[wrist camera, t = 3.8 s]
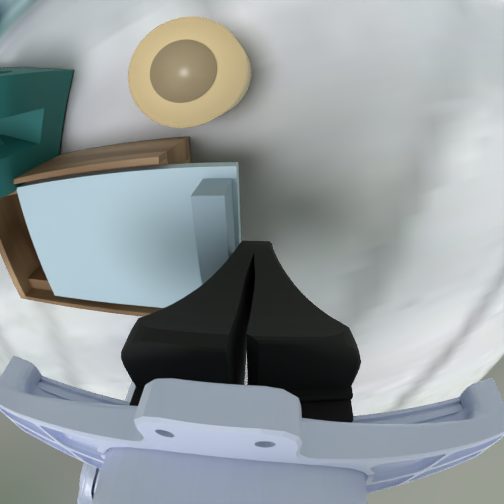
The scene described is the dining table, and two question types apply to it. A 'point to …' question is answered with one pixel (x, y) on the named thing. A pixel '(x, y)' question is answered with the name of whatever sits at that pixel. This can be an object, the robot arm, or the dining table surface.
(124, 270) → the lid
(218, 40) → the tape roll
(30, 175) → the pencil box
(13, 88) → the bracket
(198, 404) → the robot arm
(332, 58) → the dining table surface
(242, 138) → the dining table surface
